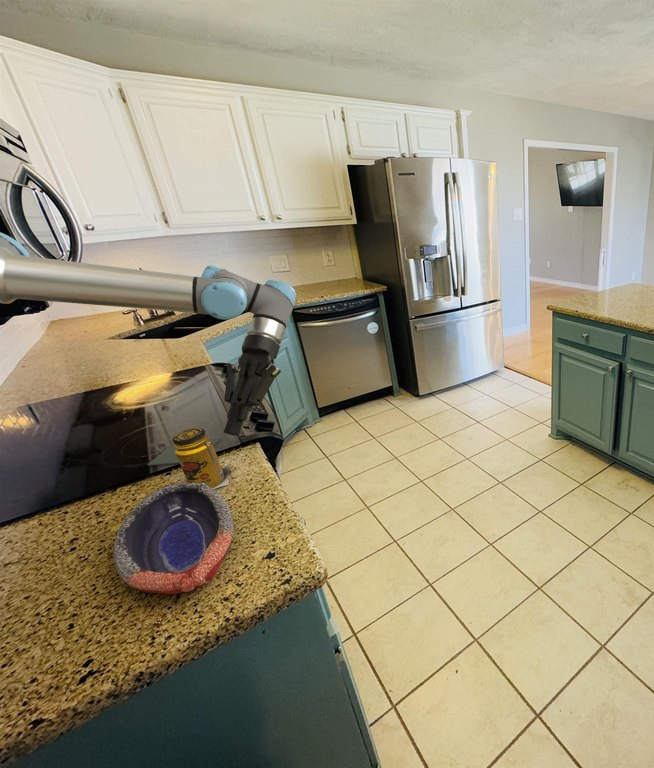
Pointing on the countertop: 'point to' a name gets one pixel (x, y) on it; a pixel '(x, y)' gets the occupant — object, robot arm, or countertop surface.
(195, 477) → the condiment
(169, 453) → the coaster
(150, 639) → the countertop surface
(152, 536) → the dish
